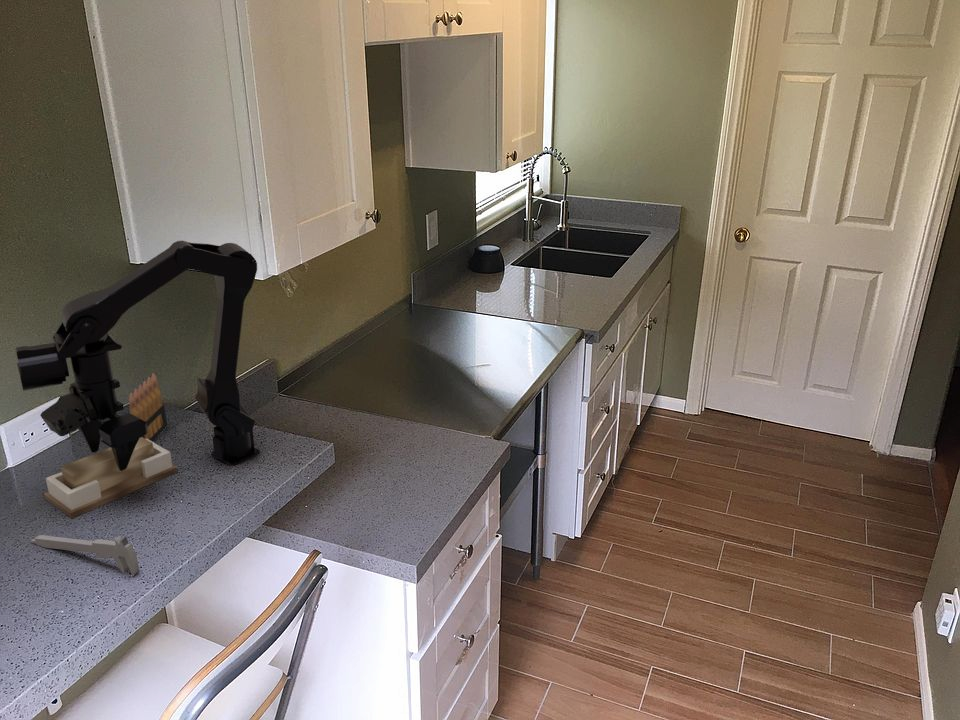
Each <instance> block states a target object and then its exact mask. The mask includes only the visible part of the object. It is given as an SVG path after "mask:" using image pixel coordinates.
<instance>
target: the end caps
mask: <svg viewBox="0 0 960 720" xmlns="http://www.w3.org/2000/svg"><path fill="white" fill-rule="evenodd" d="M146 440H148V439H146ZM148 441H150V440H148ZM150 442H152V441H150ZM152 443H153V450H154V456H152V457H150V458H147V459H145V460H142V461H141V466H142V472H143V476H144V477H145V478H148V477H150V476H152V475H155V474H157V473H159V472H162V471H164V470H166V469H169V468H171V467H172V464H173V462H172V456H171V451H169V450H168V449H166V448H164V447H163V446H160V445H159V444H157V443H155V442H152ZM45 482H46V486H47V492H49V494H50V495H51V496H53V497H54V498H55V499H57V500H58V501H60V502H61V503H62V504H64V505H65V506H66V507H68V508H69V509H70V510H74V509H76V508H78V507H81V506H83V505H85V504H88V503H90V502H92V501H94V500H97V499H99V498H101V491H100V486H99V482H98V481H97V480H94V481H91V482H89V483H87V484H84V485H82V486H79V487H77V488H74V489H72V490H71V489H70V488H68V487H67V486H65V484H64V479H63V475H62V471H60V472H58V473H56V474H52V475H50V476H48V477H45Z"/></svg>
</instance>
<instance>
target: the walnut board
mask: <svg viewBox="0 0 960 720" xmlns="http://www.w3.org/2000/svg"><path fill="white" fill-rule="evenodd" d="M176 473H179V470H178V467H177V466H176V465H174V464H173V463H172V467H171V468H169V469H166V470H164V471H162V472H159V473H157V474H155V475H152V476H150V477H148V478H145V477H144V476H143V474H141V475H138V476H136V477H134V478H131V479H129V480H127V481H125V482H122V483H120V484H118V485H115V486H113V487H111V488H108V489H106V490H104V491H101V498H99V499H97V500H94V501H92V502H90V503H88V504H85V505H83V506H81V507H78V508H76V509H74V510H70V509H69V508H68V507H66V506H65V505H64V504H62V503H61V502H60V501H58V500H57V499H55V498H54V497H53V496H51V495H50V494H49V492H48V491H47V492H43V495H44V496H43V497H44V499H45V500H46V501H48V502H49V503H50V504H51V505H53V506H54V507H55V508H57V509H58V510H60V511H61V512H62V513H64V514H65V515H66V516H67V517H69V518H70V519H74V518H76V517H78V516H81V515H83V514H85V513H87V512H90V511H91V510H95V509H97V508H99V507H101V506H103V505H105V504H108V503H110V502H113V501H115V500H117V499H120V498H121V497H124V496H126V495H129V494H131V493H134V492H136V491H138V490H140V489H142V488H145V487H147V486H149V485H151V484H155V483H156V482H159V481H161V480H162V479H166V478H167V477H170V476H173V475H175V474H176Z"/></svg>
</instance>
